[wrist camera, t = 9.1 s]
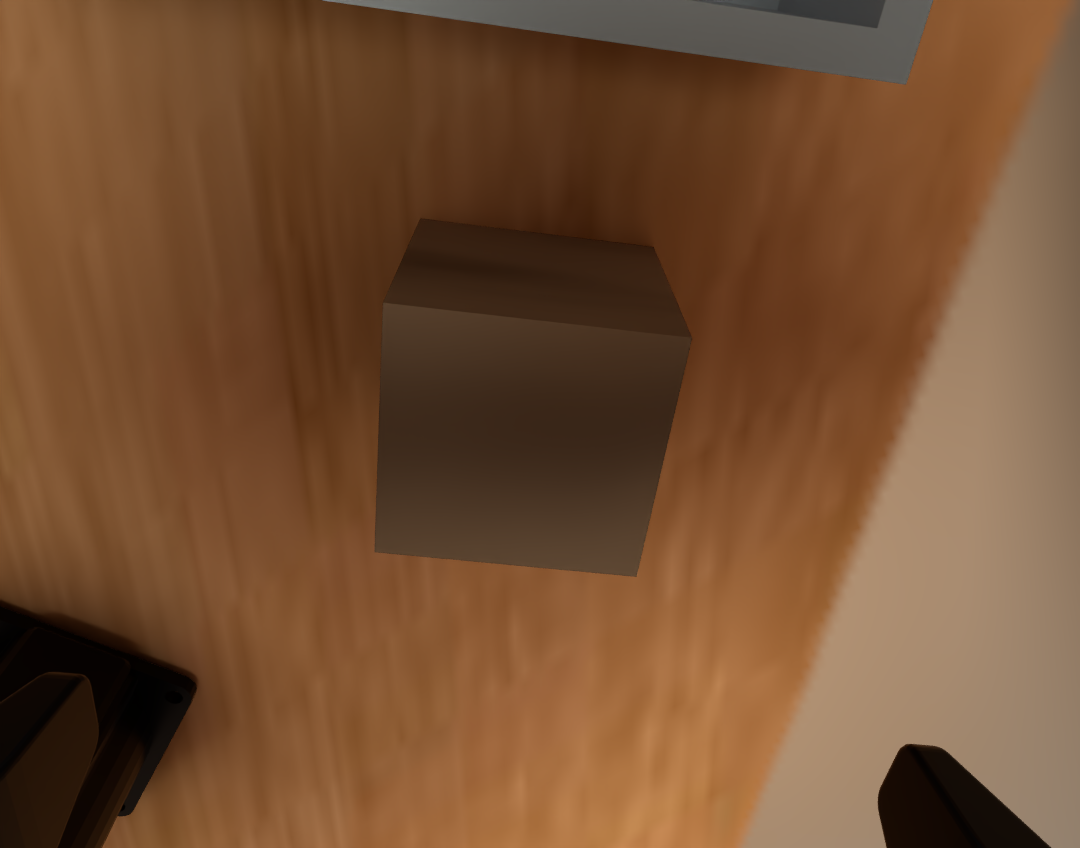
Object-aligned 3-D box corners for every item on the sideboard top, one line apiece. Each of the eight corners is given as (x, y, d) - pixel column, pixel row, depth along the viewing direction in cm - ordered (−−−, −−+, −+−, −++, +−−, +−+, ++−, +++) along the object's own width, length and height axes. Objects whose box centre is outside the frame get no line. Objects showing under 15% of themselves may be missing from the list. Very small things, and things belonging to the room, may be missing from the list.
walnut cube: (613, 443, 20) (636, 577, 16) (409, 422, 20) (374, 552, 15) (653, 246, 18) (691, 337, 13) (420, 218, 17) (382, 302, 13)
